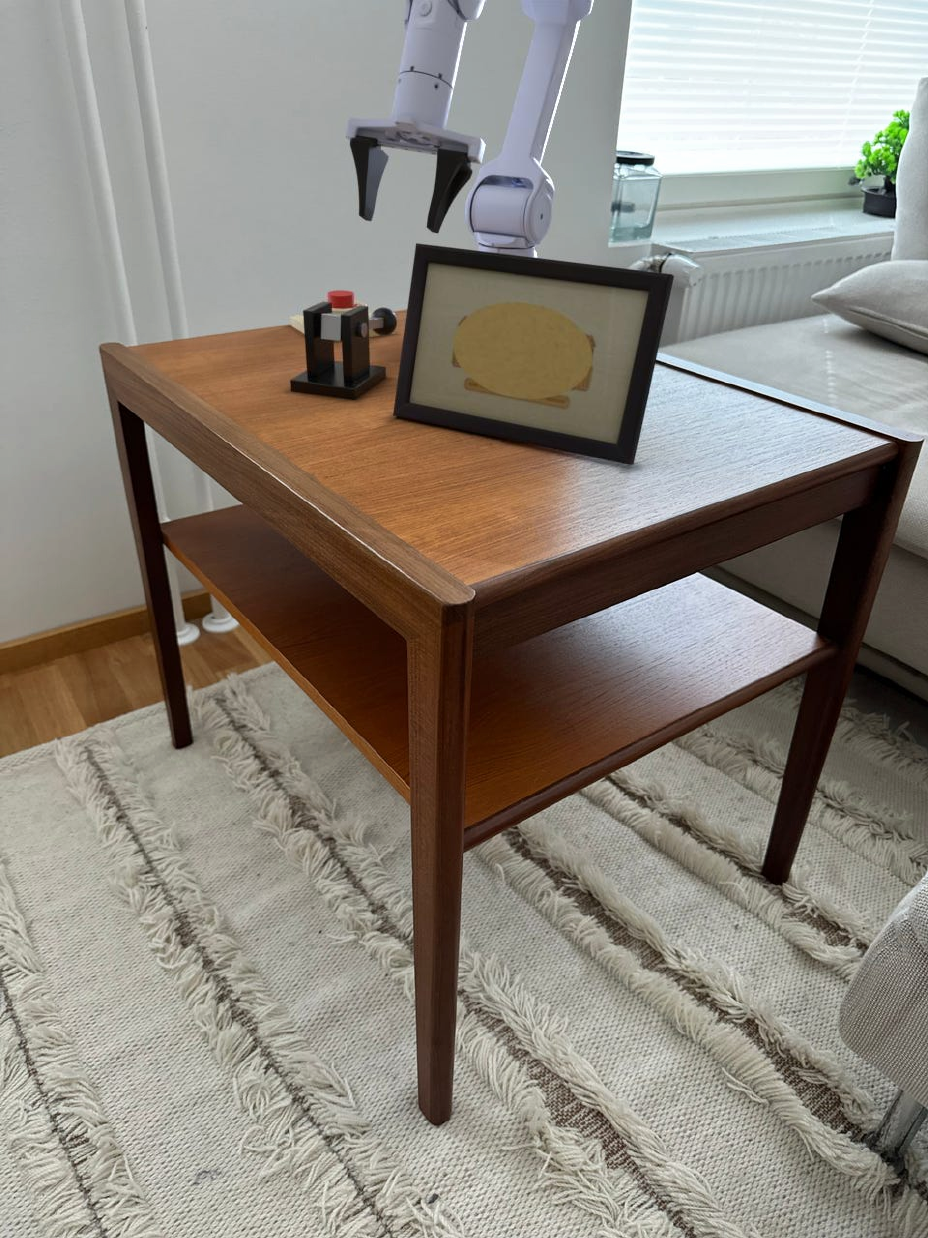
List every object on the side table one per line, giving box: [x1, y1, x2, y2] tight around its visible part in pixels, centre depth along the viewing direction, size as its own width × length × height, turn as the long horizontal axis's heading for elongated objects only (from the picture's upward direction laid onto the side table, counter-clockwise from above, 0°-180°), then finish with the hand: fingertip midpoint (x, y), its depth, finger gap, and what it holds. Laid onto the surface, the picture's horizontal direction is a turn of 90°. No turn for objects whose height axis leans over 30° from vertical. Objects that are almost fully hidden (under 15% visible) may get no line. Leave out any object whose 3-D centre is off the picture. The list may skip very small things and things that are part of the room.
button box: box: [289, 299, 396, 338], centre depth 109 cm, size 10×9×3 cm
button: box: [326, 289, 355, 309], centre depth 108 cm, size 3×3×2 cm
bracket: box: [289, 300, 387, 401], centre depth 89 cm, size 8×7×8 cm
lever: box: [321, 307, 398, 343], centre depth 94 cm, size 15×3×3 cm, turn 162°
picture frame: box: [392, 242, 675, 466], centre depth 79 cm, size 23×9×15 cm, turn 62°
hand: (398, 224), depth 93 cm, fingers open, 7 cm apart
